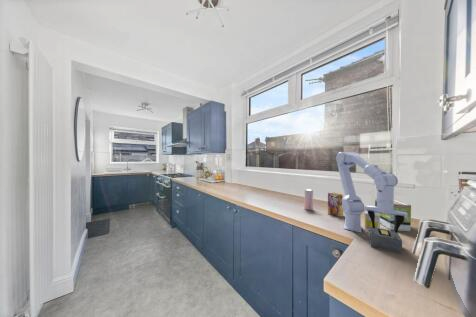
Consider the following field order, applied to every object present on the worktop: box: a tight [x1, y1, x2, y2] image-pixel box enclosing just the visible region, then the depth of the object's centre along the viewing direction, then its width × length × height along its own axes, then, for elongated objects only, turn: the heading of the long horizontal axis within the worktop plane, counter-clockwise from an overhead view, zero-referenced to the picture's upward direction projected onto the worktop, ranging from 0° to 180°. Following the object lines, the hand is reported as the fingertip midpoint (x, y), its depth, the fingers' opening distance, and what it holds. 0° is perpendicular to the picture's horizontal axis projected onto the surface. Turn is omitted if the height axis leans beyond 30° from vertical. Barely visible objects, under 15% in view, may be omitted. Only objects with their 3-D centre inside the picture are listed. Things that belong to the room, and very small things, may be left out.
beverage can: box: [304, 188, 314, 211], centre depth 128 cm, size 6×6×15 cm
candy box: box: [327, 191, 344, 218], centre depth 116 cm, size 9×4×15 cm, turn 47°
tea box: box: [374, 197, 412, 232], centre depth 99 cm, size 15×10×15 cm, turn 168°
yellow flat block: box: [380, 230, 389, 236], centre depth 76 cm, size 5×2×6 cm, turn 145°
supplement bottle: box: [364, 205, 381, 231], centre depth 93 cm, size 7×7×13 cm
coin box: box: [369, 226, 403, 255], centre depth 76 cm, size 10×10×6 cm
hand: (384, 229), depth 76 cm, fingers open, 7 cm apart
